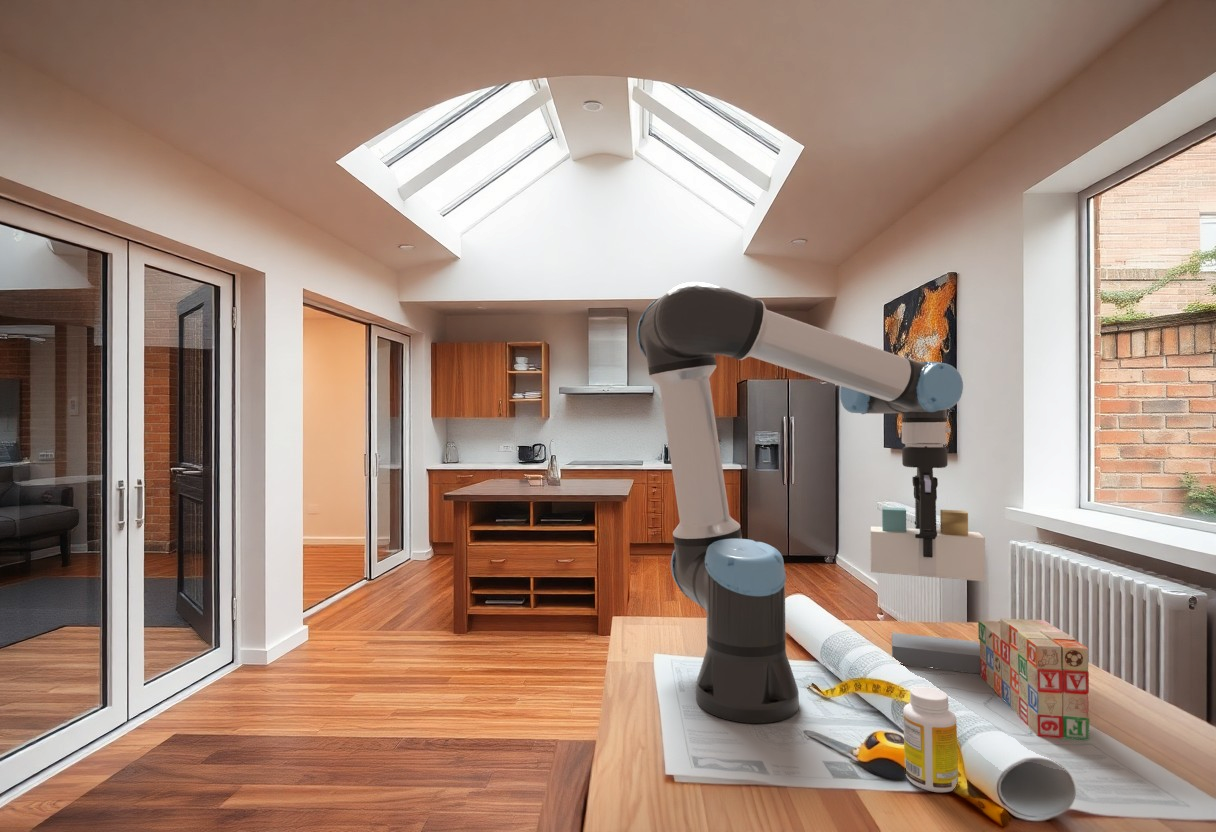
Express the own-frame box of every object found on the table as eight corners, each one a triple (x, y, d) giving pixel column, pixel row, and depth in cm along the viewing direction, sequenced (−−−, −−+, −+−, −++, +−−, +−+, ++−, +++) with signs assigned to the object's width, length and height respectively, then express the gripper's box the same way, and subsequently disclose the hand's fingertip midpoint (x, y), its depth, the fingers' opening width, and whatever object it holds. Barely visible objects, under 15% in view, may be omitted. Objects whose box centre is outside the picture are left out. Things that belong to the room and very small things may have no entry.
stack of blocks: (978, 676, 106) (977, 601, 107) (1020, 679, 105) (1019, 603, 105) (1038, 737, 85) (1036, 644, 86) (1091, 741, 84) (1089, 646, 84)
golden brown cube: (942, 534, 116) (942, 512, 116) (940, 531, 120) (940, 509, 120) (968, 535, 114) (967, 513, 115) (964, 532, 118) (964, 510, 118)
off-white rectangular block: (870, 572, 119) (870, 531, 119) (870, 564, 125) (870, 526, 126) (985, 581, 112) (984, 538, 112) (978, 573, 118) (978, 532, 119)
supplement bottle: (961, 778, 75) (959, 690, 76) (954, 800, 71) (952, 707, 71) (909, 764, 79) (908, 679, 79) (899, 784, 74) (898, 695, 74)
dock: (892, 663, 112) (892, 646, 112) (891, 648, 119) (891, 632, 119) (985, 674, 107) (984, 656, 107) (978, 658, 114) (978, 641, 114)
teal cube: (882, 530, 120) (882, 509, 120) (882, 527, 123) (882, 506, 123) (906, 532, 118) (906, 510, 118) (905, 529, 122) (905, 508, 122)
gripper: (953, 447, 108) (955, 584, 108) (941, 444, 127) (942, 561, 126) (904, 446, 111) (906, 580, 111) (899, 444, 130) (900, 559, 129)
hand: (925, 570), depth 119 cm, fingers closed on off-white rectangular block, 7 cm apart
